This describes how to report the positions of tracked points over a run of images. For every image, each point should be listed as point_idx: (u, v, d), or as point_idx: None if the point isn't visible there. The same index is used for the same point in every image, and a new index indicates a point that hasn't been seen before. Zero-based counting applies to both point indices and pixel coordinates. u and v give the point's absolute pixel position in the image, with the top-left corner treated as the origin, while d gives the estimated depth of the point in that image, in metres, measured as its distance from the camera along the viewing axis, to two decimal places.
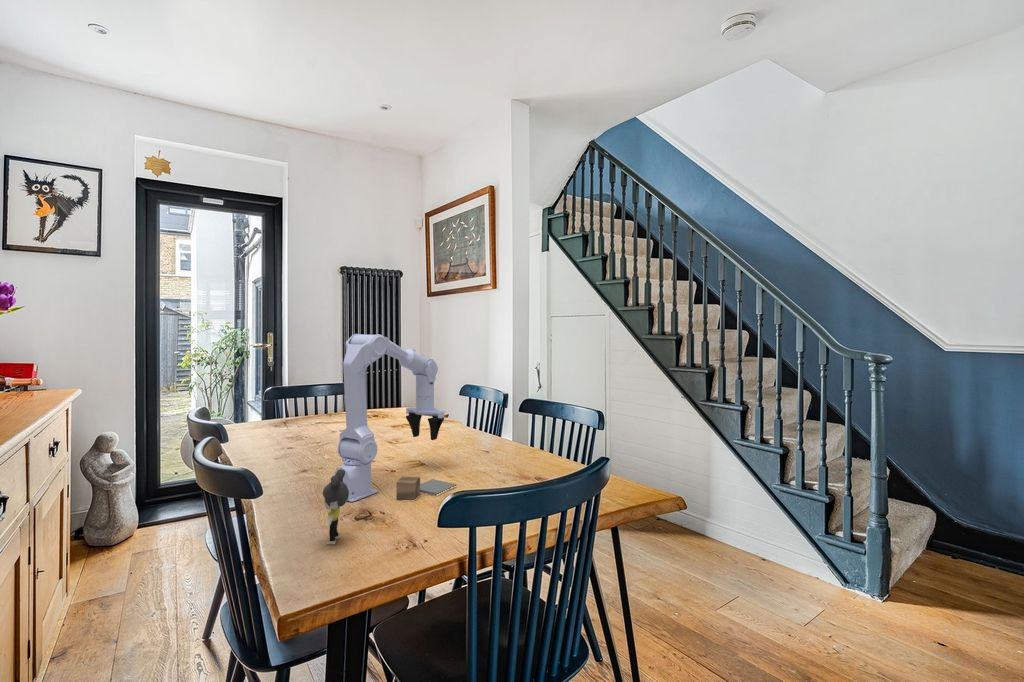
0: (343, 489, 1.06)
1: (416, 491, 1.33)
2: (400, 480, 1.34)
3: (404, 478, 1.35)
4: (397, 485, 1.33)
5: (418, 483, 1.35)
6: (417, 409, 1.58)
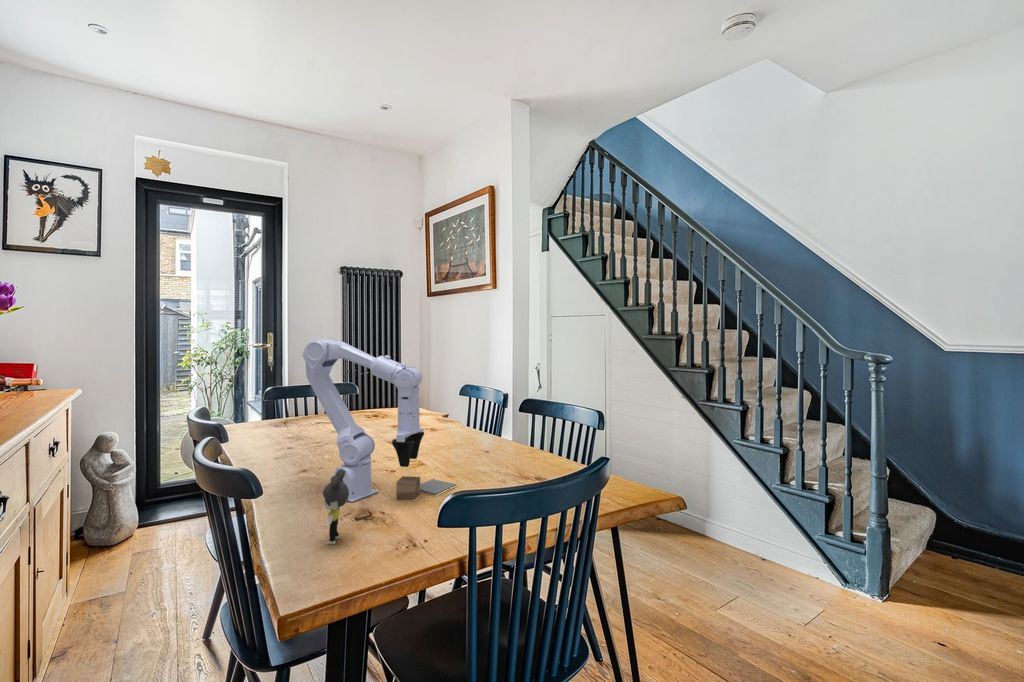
0: (343, 489, 1.06)
1: (416, 491, 1.33)
2: (400, 480, 1.34)
3: (404, 478, 1.35)
4: (397, 485, 1.33)
5: (418, 483, 1.35)
6: None
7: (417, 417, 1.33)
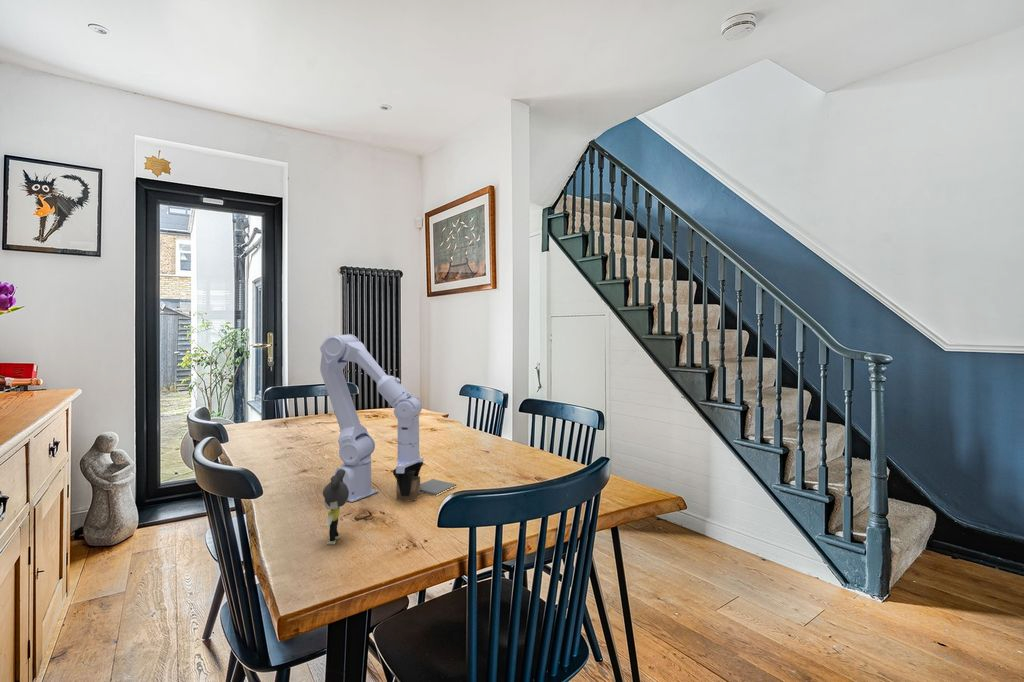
0: (343, 489, 1.06)
1: (416, 490, 1.33)
2: None
3: None
4: (397, 485, 1.33)
5: (418, 483, 1.35)
6: None
7: (417, 447, 1.33)
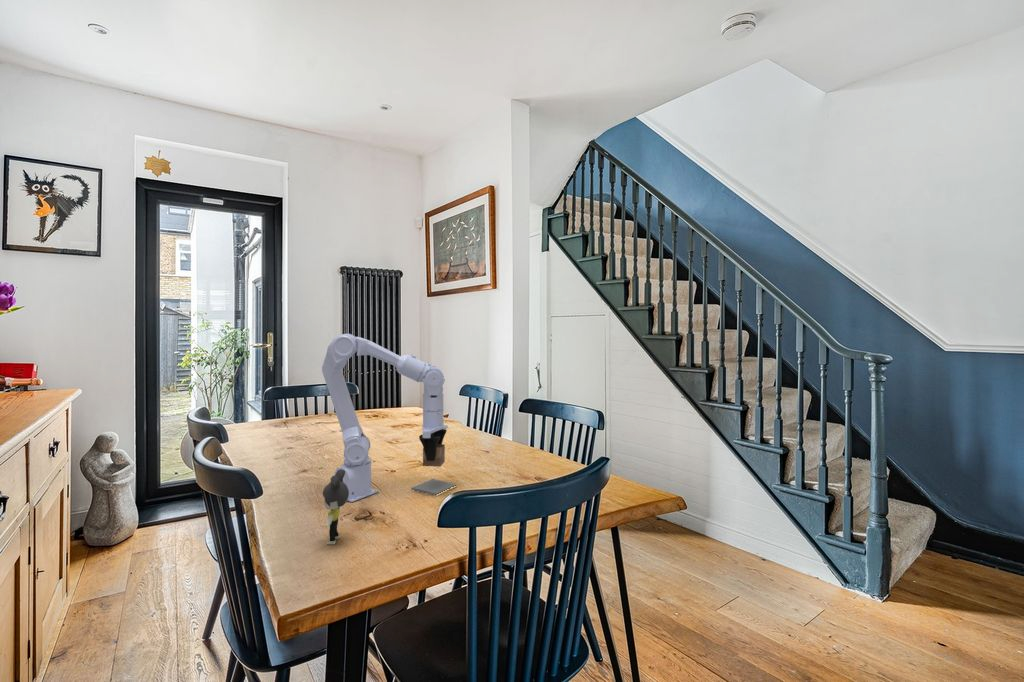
0: (343, 489, 1.06)
1: (441, 457, 1.40)
2: None
3: None
4: (423, 451, 1.39)
5: (443, 450, 1.42)
6: None
7: (441, 414, 1.40)
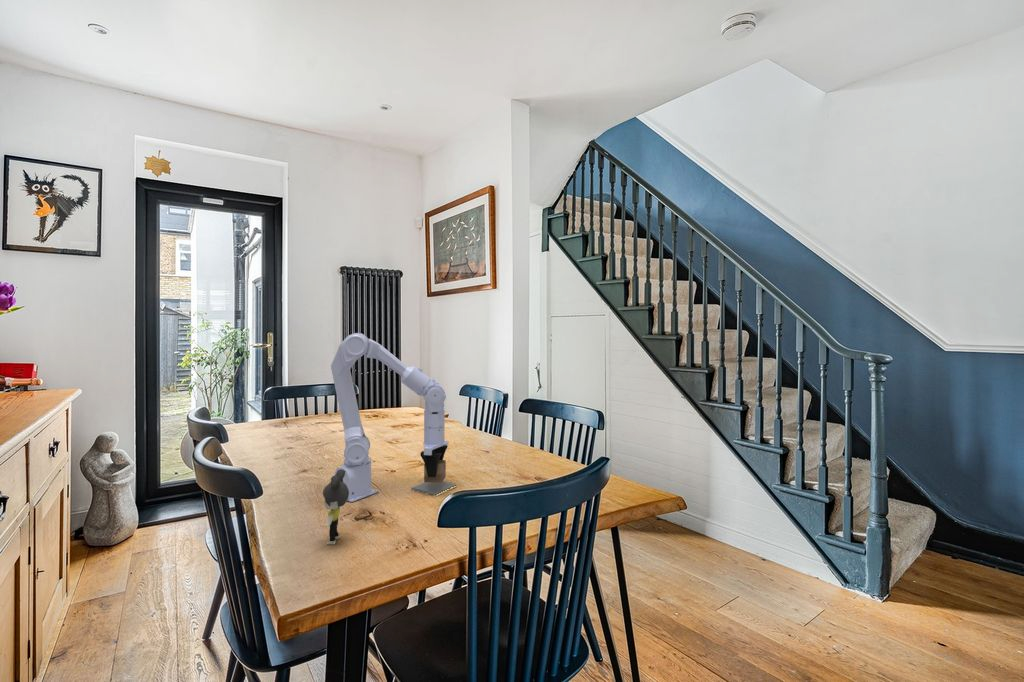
0: (343, 489, 1.06)
1: (442, 473, 1.40)
2: None
3: None
4: (425, 467, 1.40)
5: (444, 466, 1.42)
6: None
7: (442, 431, 1.40)
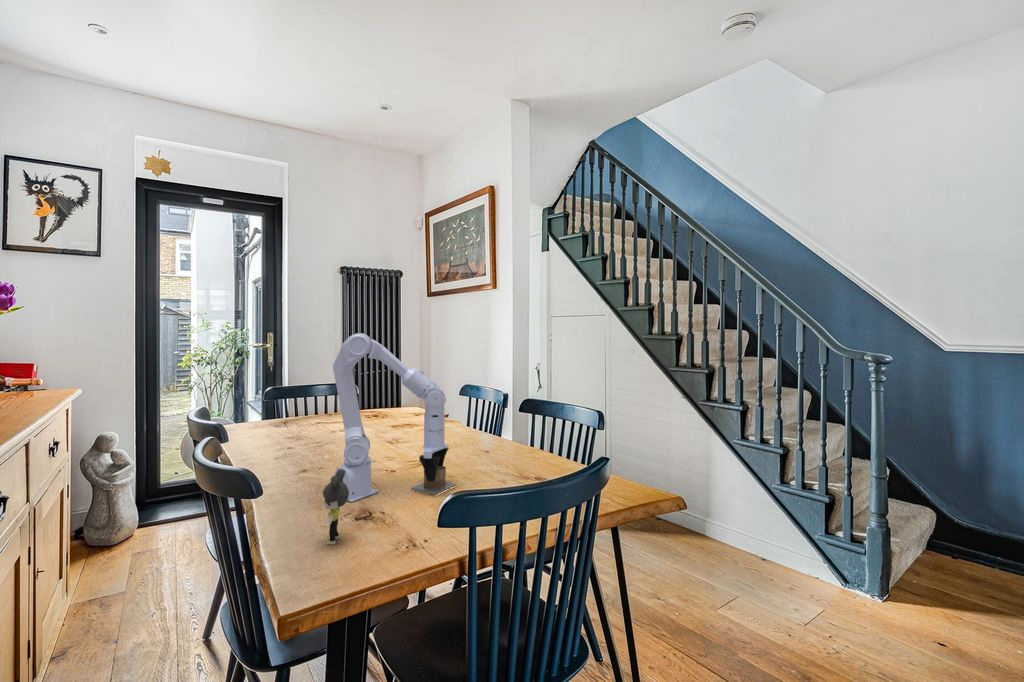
0: (343, 489, 1.06)
1: (442, 479, 1.40)
2: None
3: None
4: (424, 474, 1.40)
5: (444, 472, 1.42)
6: None
7: (442, 434, 1.40)
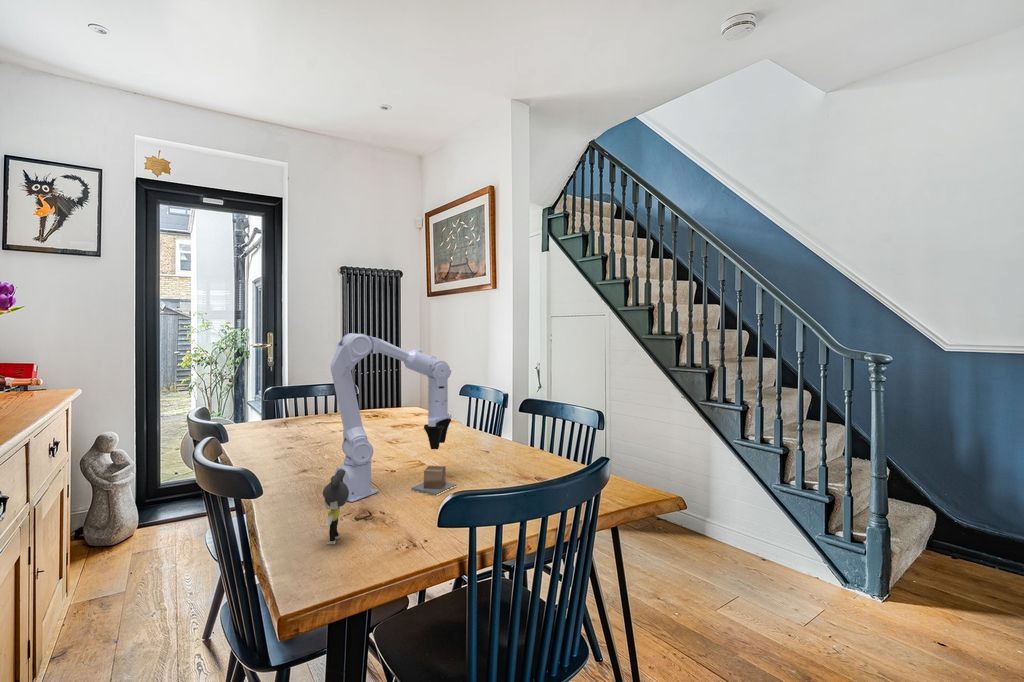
0: (343, 489, 1.06)
1: (442, 479, 1.40)
2: (427, 469, 1.41)
3: (431, 468, 1.42)
4: (424, 474, 1.40)
5: (444, 472, 1.42)
6: None
7: (446, 405, 1.48)
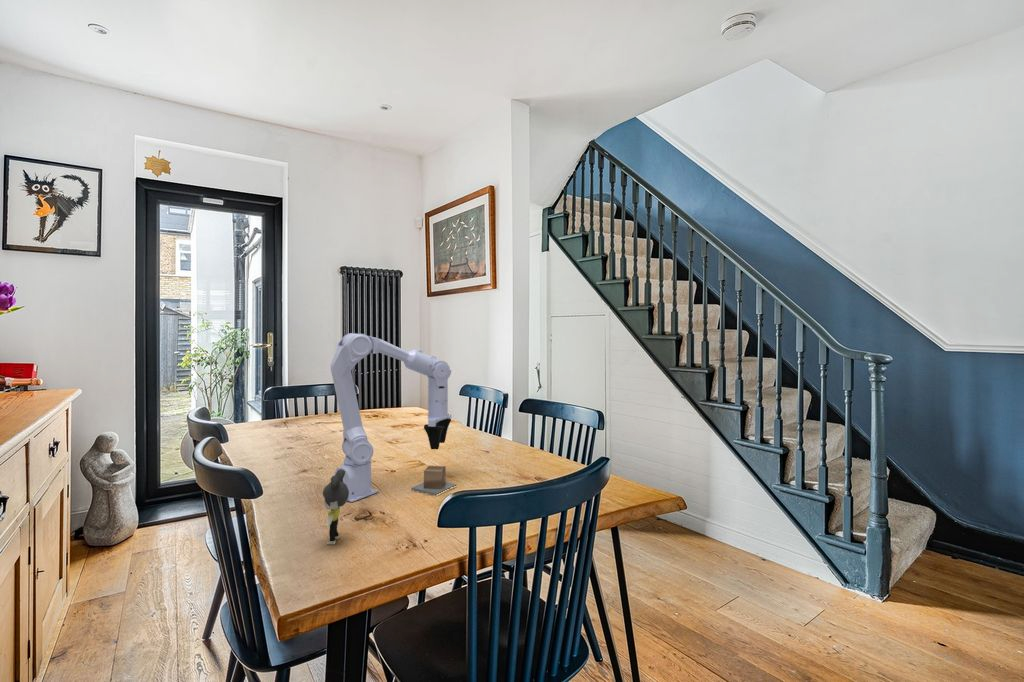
0: (343, 489, 1.06)
1: (442, 479, 1.40)
2: (427, 469, 1.41)
3: (431, 468, 1.42)
4: (424, 474, 1.40)
5: (444, 472, 1.42)
6: None
7: (446, 405, 1.48)
